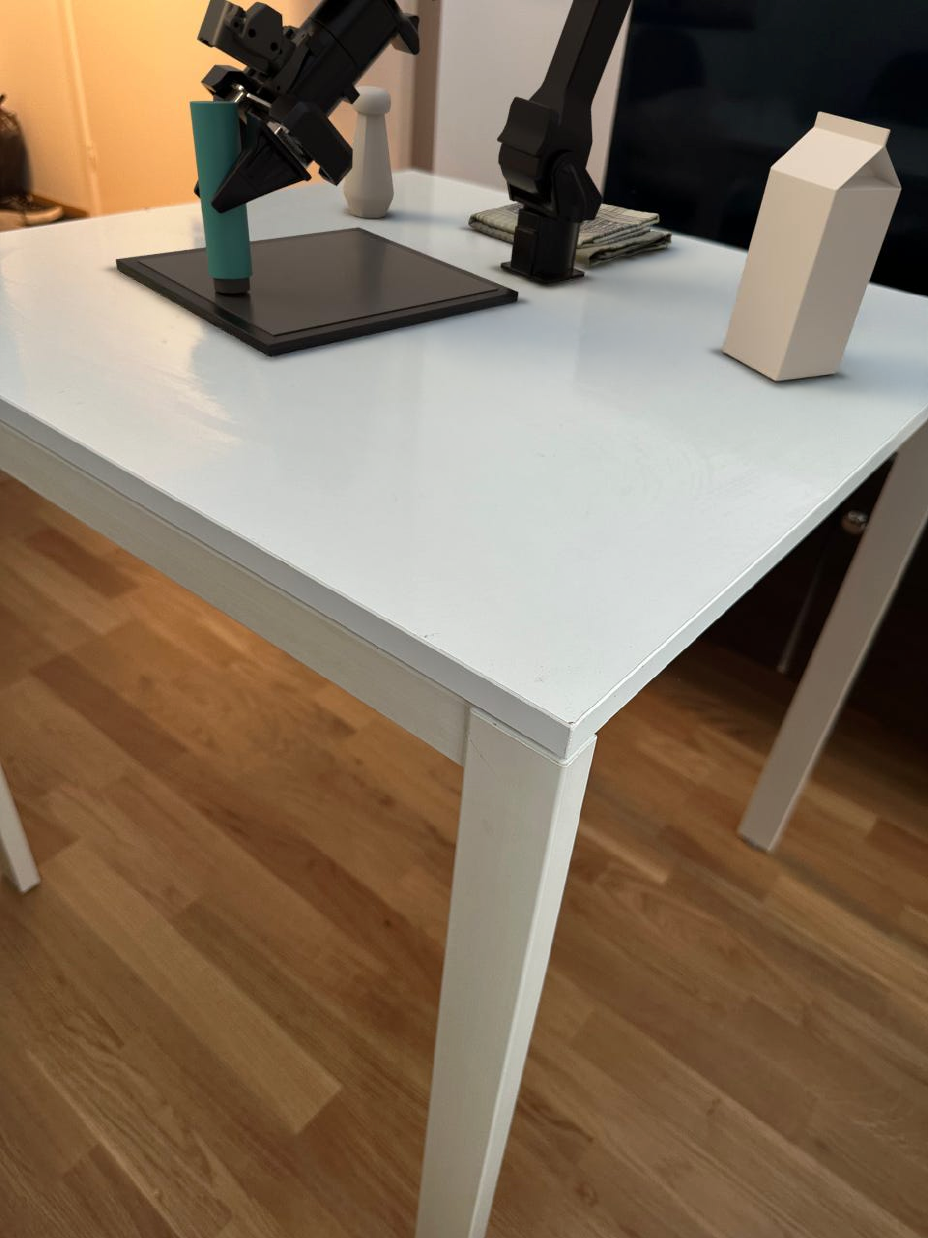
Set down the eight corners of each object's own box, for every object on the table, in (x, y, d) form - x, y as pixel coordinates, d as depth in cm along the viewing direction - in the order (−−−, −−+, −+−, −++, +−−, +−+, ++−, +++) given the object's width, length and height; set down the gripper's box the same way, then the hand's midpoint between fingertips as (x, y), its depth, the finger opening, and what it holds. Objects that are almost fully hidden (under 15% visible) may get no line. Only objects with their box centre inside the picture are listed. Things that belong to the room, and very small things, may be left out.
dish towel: (461, 228, 107) (464, 198, 105) (554, 211, 119) (558, 184, 117) (591, 271, 98) (596, 240, 96) (678, 248, 109) (684, 219, 108)
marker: (261, 287, 80) (245, 101, 73) (242, 295, 77) (223, 103, 70) (223, 283, 81) (203, 100, 73) (203, 292, 78) (180, 101, 70)
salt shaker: (401, 214, 110) (407, 89, 102) (377, 222, 105) (382, 93, 98) (358, 204, 111) (361, 81, 104) (333, 212, 107) (335, 84, 99)
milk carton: (775, 383, 77) (855, 128, 65) (720, 352, 82) (785, 110, 70) (836, 375, 80) (922, 130, 68) (779, 345, 85) (851, 112, 73)
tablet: (358, 235, 100) (358, 225, 100) (517, 301, 88) (519, 290, 87) (116, 268, 84) (115, 257, 83) (269, 356, 71) (269, 343, 70)
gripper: (218, -54, 73) (93, 100, 75) (315, -35, 61) (164, 149, 62) (310, 65, 82) (196, 201, 83) (412, 102, 69) (276, 262, 71)
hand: (206, 202), depth 75 cm, fingers closed on marker, 4 cm apart
